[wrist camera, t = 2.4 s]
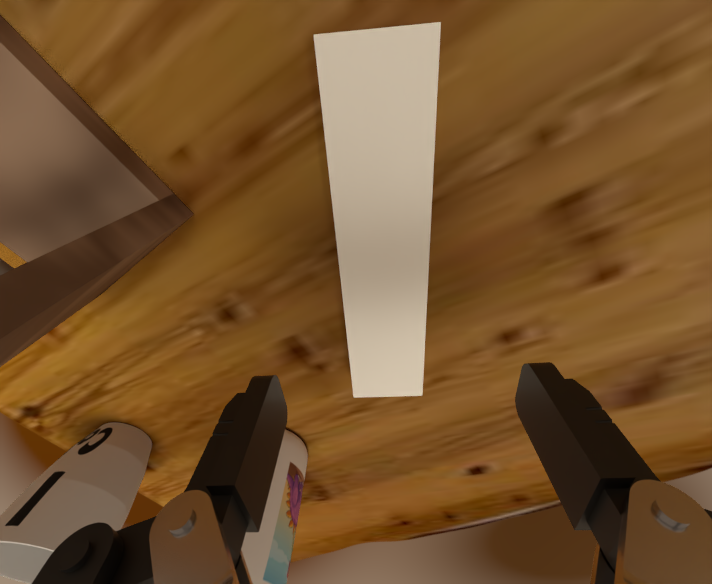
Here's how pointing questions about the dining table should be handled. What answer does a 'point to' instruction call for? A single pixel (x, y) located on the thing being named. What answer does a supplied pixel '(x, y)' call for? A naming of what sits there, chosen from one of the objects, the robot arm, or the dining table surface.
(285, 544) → the milk bottle
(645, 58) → the dining table surface
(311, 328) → the dining table surface
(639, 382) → the dining table surface
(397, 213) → the shelf board
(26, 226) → the shelf frame
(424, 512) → the dining table surface
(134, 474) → the cup
